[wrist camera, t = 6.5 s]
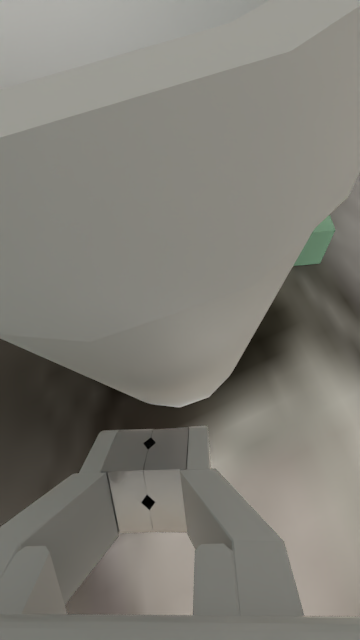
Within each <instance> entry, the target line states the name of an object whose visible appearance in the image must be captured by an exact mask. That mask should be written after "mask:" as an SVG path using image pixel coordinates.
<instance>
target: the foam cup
mask: <svg viewBox="0 0 360 640" xmlns="http://www.w3.org/2000/svg"><path fill="white" fill-rule="evenodd" d="M359 173H360V0H0V339H2V340H5V341H7V342H9V343H11V344H14V345H16V346H18V347H21V348H23V349H25V350H27V351H30V352H32V353H34V354H36V355H39V356H41V357H43V358H46V359H48V360H50V361H52V362H55V363H57V364H59V365H61V366H64V367H66V368H68V369H71V370H73V371H75V372H77V373H80V374H82V375H84V376H86V377H89V378H91V379H93V380H96V381H98V382H100V383H102V384H105V385H107V386H109V387H111V388H114V389H116V390H118V391H121V392H123V393H125V394H127V395H130V396H132V397H134V398H136V399H139V400H141V401H143V402H145V403H149V404H153V405H162V406H171V407H183V406H186V405H189V404H191V403H194V402H197V401H200V400H203V399H205V398H208V397H210V396H211V395H212V394H213V393H214V392H215V391H216V390H217V389H218V387H219V386H220V385H221V384H222V383H223V382H224V381H225V380H226V379H227V378H228V377H229V376H230V374H231V373H232V372H233V370H234V368H235V367H236V365H237V363H238V361H239V360H240V358H241V356H242V354H243V353H244V351H245V349H246V347H247V346H248V344H249V342H250V340H251V339H252V337H253V335H254V333H255V332H256V330H257V328H258V326H259V325H260V323H261V321H262V319H263V318H264V316H265V314H266V312H267V311H268V309H269V307H270V305H271V304H272V302H273V300H274V298H275V297H276V295H277V293H278V291H279V290H280V288H281V286H282V284H283V283H284V281H285V279H286V277H287V276H288V274H289V272H290V270H291V269H292V267H293V265H294V263H295V262H296V260H297V258H298V256H299V255H300V253H301V251H302V249H303V248H304V246H305V244H306V242H307V241H308V239H309V237H310V235H311V234H312V232H313V230H314V229H315V228H316V227H317V226H318V225H319V224H320V223H321V222H322V221H323V220H324V219H325V218H326V217H327V216H328V215H330V214H331V213H332V212H333V211H334V210H335V209H336V208H337V207H338V206H339V205H340V204H341V203H342V202H343V201H344V200H346V199H347V198H348V197H349V195H350V193H351V191H352V189H353V186H354V184H355V182H356V180H357V177H358V175H359Z"/></svg>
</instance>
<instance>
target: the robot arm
mask: <svg viewBox="0 0 360 640" xmlns="http://www.w3.org/2000/svg"><path fill="white" fill-rule="evenodd" d="M144 532H179V533H188V536H189V538H190V540H191V542H192V544H193V546H194V548H195V549H196V550H195V564H194V598H193V615H88V614H67V612H66V608H65V604H66V603H67V602H68V601H69V599H70V598H71V597H72V595H73V594H74V593H75V592H76V590H77V589H78V588H79V586H80V585H81V584H82V583H83V581H84V580H85V579H86V577H87V576H88V575H89V574H90V572H91V571H92V570H93V568H94V567H95V566H96V565H97V563H98V562H99V561H100V559H101V558H102V557H103V556H104V554H105V553H106V552H107V550H108V549H109V548H110V547H111V545H112V544H113V543H114V541H115V540H116V539H117V538H118V536H119V535H118V534H124V533H144ZM0 640H360V616H304V613H303V609H302V606H301V602H300V599H299V595H298V591H297V588H296V584H295V580H294V577H293V573H292V569H291V566H290V562H289V558H288V555H287V551H286V548H285V544H284V541H283V540H282V539H281V538H280V537H279V536H278V535H277V534H276V532H275V531H274V530H273V529H272V528H271V527H270V526H269V525H268V524H267V523H266V522H265V521H264V520H263V519H262V518H261V517H260V515H259V514H258V513H257V512H256V511H255V510H254V509H253V508H252V507H251V506H250V505H249V504H248V503H247V502H246V501H245V499H244V498H243V497H242V496H241V495H240V494H239V493H238V492H237V491H236V490H235V489H234V488H233V487H232V486H231V485H230V483H229V482H228V481H227V480H226V479H225V478H224V477H223V476H222V475H221V474H220V473H219V472H218V471H217V470H216V469H212V468H211V456H210V445H209V433H208V426H207V425H205V426H193V427H185V428H168V429H130V430H103V431H101V432H100V433H99V434H98V436H97V438H96V440H95V442H94V444H93V446H92V448H91V450H90V452H89V454H88V456H87V458H86V460H85V462H84V464H83V466H82V468H81V470H80V472H79V473H75V474H72V475H70V476H69V477H68V478H66V479H65V480H64V481H62V482H61V483H60V484H58V485H57V486H55V487H54V488H53V489H51V490H50V491H49V492H47V493H46V494H45V495H43V496H42V497H40V498H39V499H38V500H36V501H35V502H34V503H32V504H31V505H30V506H28V507H27V508H25V509H24V510H23V511H21V512H20V513H19V514H17V515H16V516H14V517H13V518H12V519H10V520H9V521H8V522H6V523H5V524H4V525H2V526H1V527H0Z"/></svg>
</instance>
